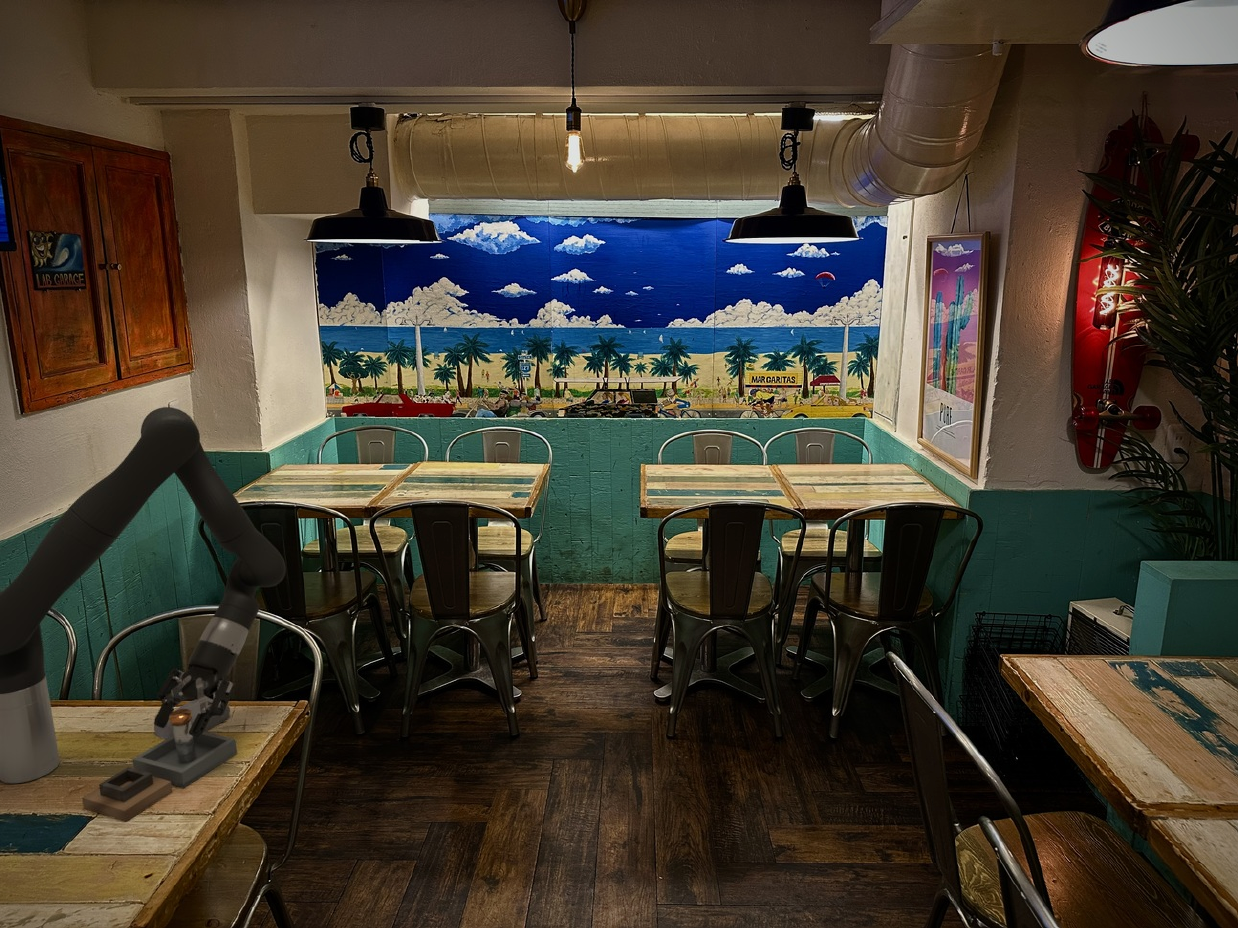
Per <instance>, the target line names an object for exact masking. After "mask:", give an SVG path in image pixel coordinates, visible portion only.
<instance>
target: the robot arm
mask: <svg viewBox="0 0 1238 928" xmlns="http://www.w3.org/2000/svg"><path fill="white" fill-rule="evenodd" d="M140 427H141V428H140V438H139V439H138V441H137V442H136V443H135V445H134V446H133V448H132V449H131V450H130V452H129V453H128V454H127V456H126V457H125V458H124V459H123V461H122V462H121V463H120V464H118V466H117V467H116V468H115V469H114V470H113V471H112V472H111V473H110V474H108V475H107V476H105V477H104V478H103V479H101V480H100V481H98V482H97V483H95V484H94V485H92V486H91V487H90V488H89V489H88V490H86V491H85V492H84V493H83V494H81V495H80V496H79V497H78V498H77V499H76V500H75V501H74V502H73V503H72V504H70V506H69V507H68V508H67V510H66V511H64V512H63V513H62V514H61V516H60V517H59V518H58V519H57V521H56V522H55V523H54V524H53V525H52V527H51V528H50V529H49V531H47V533H46V535H45V536H44V537H43V539H42V540H41V541H40V543H39V544H38V546H37V548H36V549H35V550H34V553H33V554H32V556H31V557H30V559H29V561H28V562H27V563H26V565H25V566H24V568H23V569H22V571H21V572H20V573H19V574H18V575H17V577H16V578H15V579H14V580H13V581H12V582H11V583H10V584H9V585H8V586H7V587H6V588H5V589H4V590H2V591H0V782H2V783H5V784H19V783H26V782H30V781H33V780H37V779H40V778H41V777H44V776H46V775H48V774H50V773H51V772H53V771H54V770H55V769H56V768H57V767H58V766H59V765H60V753H59V749H58V742H57V736H56V729H55V724H54V717H53V713H52V712H53V711H52V704H51V699H50V694H49V688H48V687H49V686H48V682H47V677H46V671H45V670H46V669H45V653H44V646H43V645H44V644H43V638H42V631H41V623H42V621H43V620H44V619H45V618H46V616H47V615H48V614H49V611H51V610H52V608H53V606H55V604H56V603H57V601H58V600H59V599H60V598H61V597H62V595H64V594H65V593H66V591H67V590H69V589H70V588H71V587H72V586H73V585H75V583H76V582H77V581H78V580H79V579H80V578H81V577H82V576H83V575H84V574H85V573H86V572H87V571H88V570H89V569H90V568H91V567H92V566H93V565H94V564H95V563H96V562H97V561H98V559H100V558H101V556H102V555H104V553H105V552H107V550H108V549H109V548H110V546H112V545H113V543H114V542H115V541H116V540H117V539H118V537H120V535H121V534H122V533H123V532H124V530H125V529H126V528H127V527H128V525H129V524H130V523H131V522H132V520H133V519H135V517H136V516H137V514H138V513H139V512H140V511H141V509H142V508H143V507H144V505H146V503H147V501H148V500H149V498H151V496H152V495H153V494H154V493H155V492H156V491H157V489H158V488H160V486H161V485H162V484H164V483H165V482H166V481H167V480H168V479H169V478H170V477H171V476H172V475H173V474H174V475H175V476H176V477H177V478H178V480H179V481H180V483H181V484H182V486H183V487H184V489H185V490H186V492H187V494H188V496H189V497H190V499H191V501H192V503H193V505H194V506H195V508H196V509H197V512H198V513H199V515H200V517H201V519H202V520H203V522H204V524H205V525H206V526H207V528H208V529H209V531H210V533H211V534H212V536H213V538H215V540H216V541H217V543H218V544H219V546H220V547H221V548H222V549H223V550H224V551H225V552H227V553H230V554H232V555H233V554H234V555H235V556H236V557H237V558H236V560H235V561H234V563H233V564H232V565H231V568H230V569H229V573H228V577H227V580H226V584H225V589H224V593H223V598H222V600H221V601H220V602H219V605H218V607H217V609H216V611H215V613H214V615H213V616H212V618H211V620H210V621H209V622H208V624H207V625H206V627H205V629H204V630H203V633H202V634H201V636H200V638H199V639H198V641H197V644H196V645H195V647H194V649H193V651H192V652H191V655H190V657H189V659H188V665H189V666H188V668H187V669H186V671H182V670H179V669H178V668H176V667H174V668H172V669H171V671H170V672H169V674H168V676H167V677H166V679H165V681H164V683H162V685H161V688H160V689H159V691H158V693H157V694H156V699H158V700H159V701H160V702H161V706H160V708H159V709H158V712H157V714H156V716H155V717H154V721H153V725H156V726H158V727H160V728H164V727H165V726H166V724H167V722H168V720H169V715H170V714H171V713H172V712H174V711H175V707H177V706H178V705H179V704H181V703H182V702H185V701H188V700H189V699H190V700H198V702H199V703H200V712H201V714H199V713H198V715H197V717H196V719H195V721H194V723H193V724H192V726H191V728H190V730H189V734H190V735H192V736H195V737H199V736H200V735H201V734H202V733H203V732H204V730H205V728H206V726H207V724H208V722H209V720H210V718H211V717H213V716H215V715H219V716H221V715H223V713H224V711H225V709H226V707H227V705H229V702H230V699H231V697H232V696H233V693H234V691H235V688H236V684H235V683H233V682H231V681H230V680H227V679H224V678H227V677H228V676H229V674H230V672H231V670H232V669H233V666H234V665H235V663H236V660H237V658H238V657H239V655H240V653H241V651H242V648H243V647H244V645H245V642H246V639H247V637H248V634H249V631H250V630H251V628H252V627H253V623H254V622H255V619H256V618H257V616H258V613H259V610H260V603H259V602H258V600H256V599H255V595H256V591H257V589H258V588H271V587H275V586H277V585H279V584H280V583H282V581H283V580H284V578H285V576H286V571H287V570H286V569H287V568H286V563H285V560H284V558H283V555H282V554H281V553H280V552H279V550H278V548H276V547H275V546H274V545H273V543H272V542H270V541H269V540H268V539H267V537H265V536H264V535H263V534H262V533H261V532H260V531H259V530H258V529H257V528H256V527H255V525H254V524H253V522H252V521H251V519H250V517H249V516H248V514H247V513H246V511H245V510H244V508H243V507H242V505H241V504H240V502H239V501H238V499H237V498H236V497H235V495H234V494H233V493H232V491H231V490H230V489H229V488H228V486H227V484H226V483H225V482H224V480H223V479H222V478H221V476H220V475H219V473H218V472H217V470H216V469H215V468H214V466H213V464H212V462H211V461H210V459H209V458H208V456H207V454H206V452H205V450H204V449H203V446H202V443H201V435H200V431H199V428H198V426H197V424H196V422H195V421H194V419H193V418H192V417H191V416H190V415H189V414H188V413H187V412H184V411H183V410H181V409H179V408H175V407H172V406H171V407H170V406H169V407H168V406H164V407H159V408H156V409H153V410H152V411H150V412H149V413H148V414H147V415H146V416H145V418H144V419H143V421H142V423H141V426H140ZM220 702H221V703H220ZM219 703H220V705H219ZM218 706H219V707H218Z"/></svg>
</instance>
